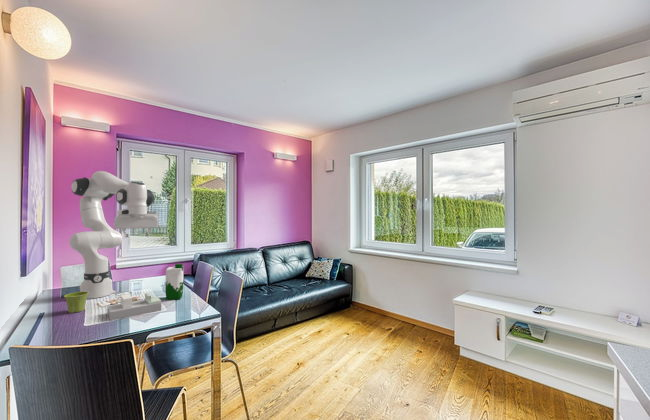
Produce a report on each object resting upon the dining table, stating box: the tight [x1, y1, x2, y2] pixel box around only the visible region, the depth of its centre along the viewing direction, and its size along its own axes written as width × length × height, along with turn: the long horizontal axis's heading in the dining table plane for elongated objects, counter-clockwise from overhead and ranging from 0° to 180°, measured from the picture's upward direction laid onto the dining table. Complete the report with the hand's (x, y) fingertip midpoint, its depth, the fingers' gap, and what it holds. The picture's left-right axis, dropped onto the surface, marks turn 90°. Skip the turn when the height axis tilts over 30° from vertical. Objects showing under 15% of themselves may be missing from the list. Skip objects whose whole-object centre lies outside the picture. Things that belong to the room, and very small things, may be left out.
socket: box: [106, 299, 162, 322], centre depth 143 cm, size 12×21×4 cm, turn 133°
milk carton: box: [164, 263, 184, 301], centre depth 166 cm, size 9×9×20 cm
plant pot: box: [63, 291, 89, 314], centre depth 144 cm, size 9×9×9 cm
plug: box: [120, 294, 133, 309], centre depth 140 cm, size 9×4×7 cm, turn 43°
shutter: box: [144, 292, 162, 304], centre depth 148 cm, size 10×6×4 cm, turn 43°
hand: (136, 236), depth 154 cm, fingers open, 8 cm apart
